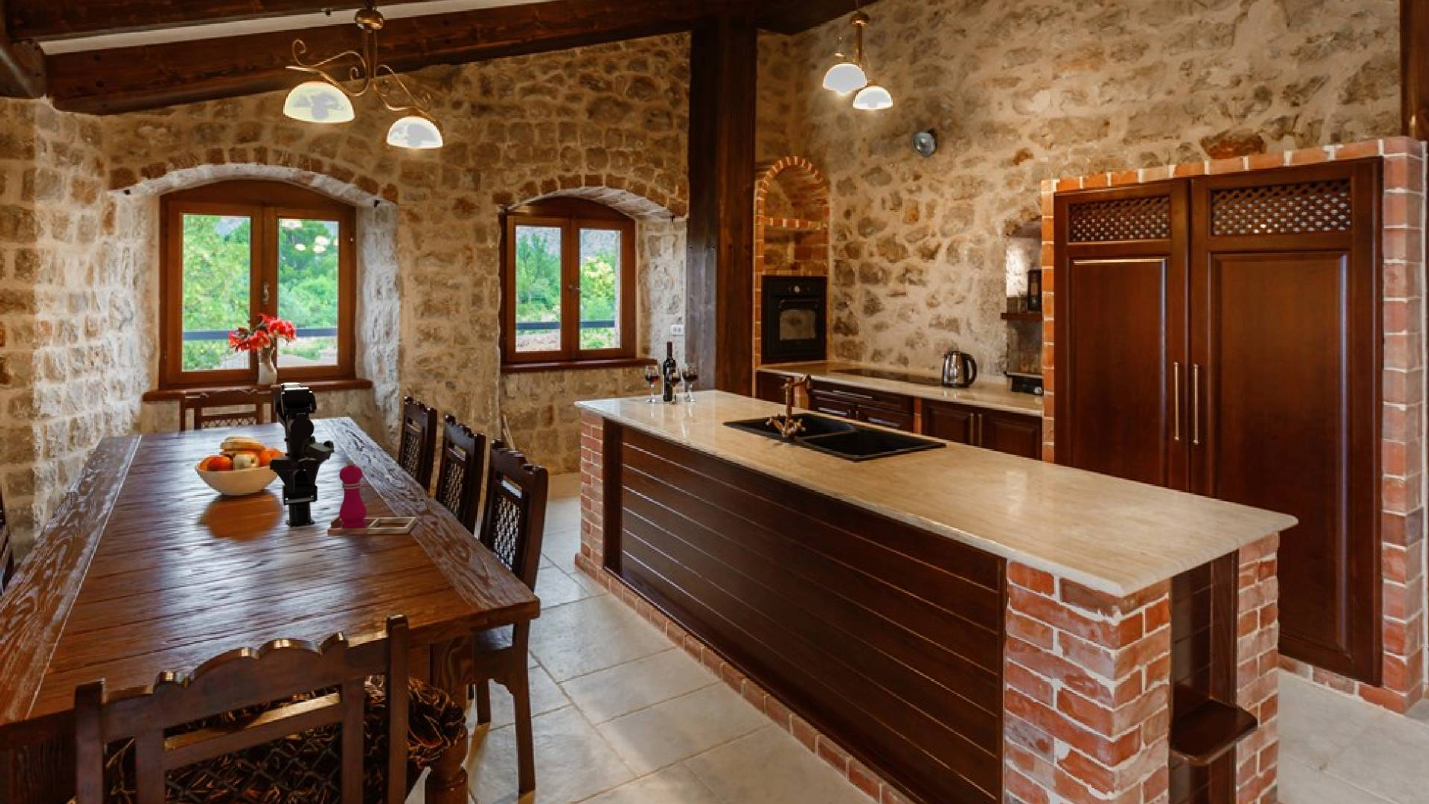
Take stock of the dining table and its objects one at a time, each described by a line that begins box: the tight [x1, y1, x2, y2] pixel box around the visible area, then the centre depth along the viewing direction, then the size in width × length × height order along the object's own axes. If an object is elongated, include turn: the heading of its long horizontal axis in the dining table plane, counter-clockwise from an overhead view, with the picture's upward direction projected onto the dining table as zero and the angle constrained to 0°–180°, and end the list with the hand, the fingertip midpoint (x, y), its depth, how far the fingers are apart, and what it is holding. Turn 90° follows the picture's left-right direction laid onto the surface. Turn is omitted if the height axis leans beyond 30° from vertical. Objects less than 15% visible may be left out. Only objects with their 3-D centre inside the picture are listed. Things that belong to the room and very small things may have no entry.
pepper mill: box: [338, 459, 368, 528], centre depth 232 cm, size 7×7×20 cm
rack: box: [326, 515, 418, 536], centre depth 234 cm, size 21×11×3 cm, turn 96°
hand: (302, 488), depth 226 cm, fingers open, 9 cm apart
